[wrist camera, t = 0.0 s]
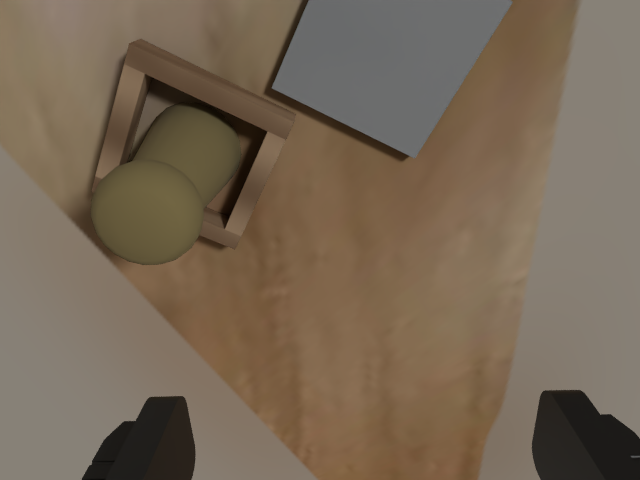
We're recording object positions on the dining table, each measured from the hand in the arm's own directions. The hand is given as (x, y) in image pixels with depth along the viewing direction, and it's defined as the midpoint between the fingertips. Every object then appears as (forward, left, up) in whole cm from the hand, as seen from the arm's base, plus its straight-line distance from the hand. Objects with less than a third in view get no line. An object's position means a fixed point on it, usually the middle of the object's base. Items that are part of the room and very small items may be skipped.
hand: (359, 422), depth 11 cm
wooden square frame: (+6, -8, -22) cm, 24 cm away
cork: (+6, -8, -23) cm, 25 cm away
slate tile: (-5, 0, -22) cm, 23 cm away
